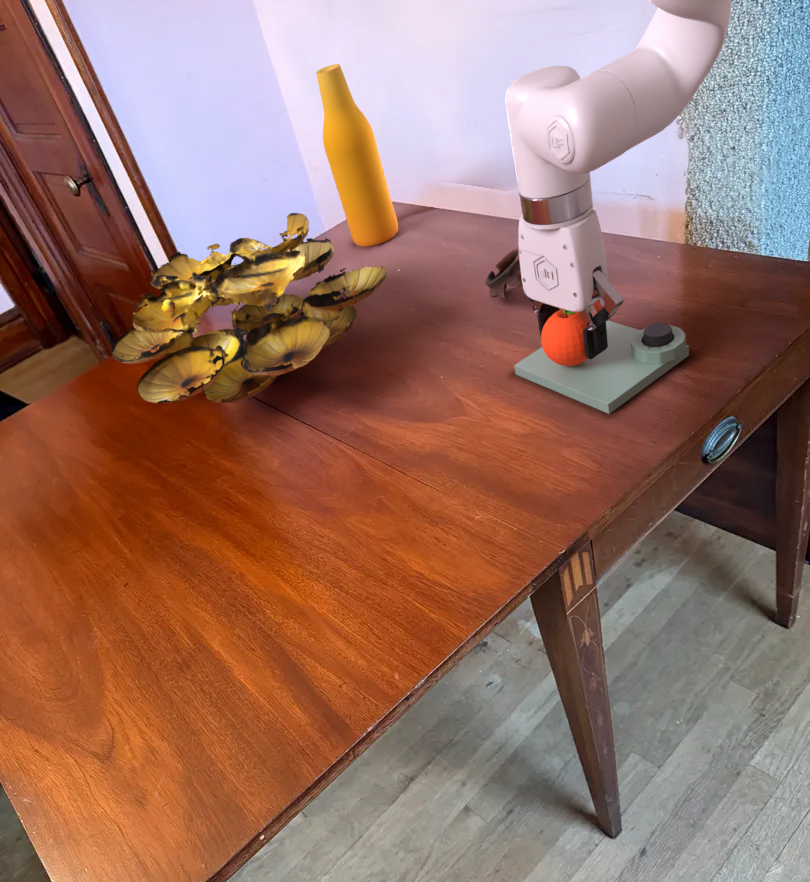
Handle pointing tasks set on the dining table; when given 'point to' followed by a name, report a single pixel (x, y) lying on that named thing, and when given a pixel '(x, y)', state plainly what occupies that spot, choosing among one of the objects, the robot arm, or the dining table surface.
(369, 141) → the beer bottle
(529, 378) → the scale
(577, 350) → the clementine
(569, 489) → the dining table surface
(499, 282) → the broken mug
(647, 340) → the tare button
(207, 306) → the mushroom
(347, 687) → the dining table surface
